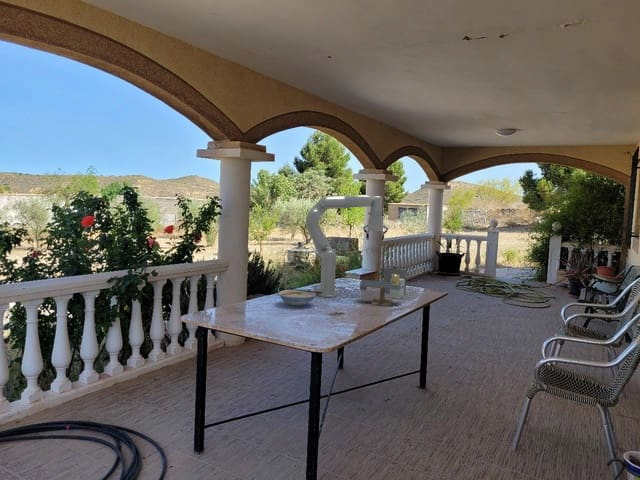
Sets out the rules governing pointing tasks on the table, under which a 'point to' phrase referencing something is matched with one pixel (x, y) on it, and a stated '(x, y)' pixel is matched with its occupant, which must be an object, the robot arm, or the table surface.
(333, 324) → the table surface
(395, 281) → the brass weight
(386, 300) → the pivot stand
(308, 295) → the ramen bowl
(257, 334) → the table surface
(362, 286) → the balance beam
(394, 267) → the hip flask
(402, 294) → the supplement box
